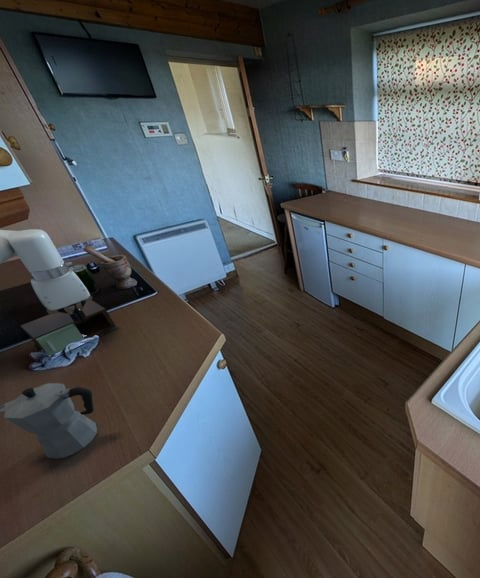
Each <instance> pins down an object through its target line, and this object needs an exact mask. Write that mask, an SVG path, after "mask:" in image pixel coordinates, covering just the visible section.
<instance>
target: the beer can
mask: <svg viewBox="0 0 480 578" xmlns="http://www.w3.org/2000/svg"><path fill="white" fill-rule="evenodd" d="M69 269H71V270H72V271H73V272H74V273H75V274H76V275H77V276H78V278H79V279H80V280H81V281H82V283H83V284H84V286H85V287H86V289H87V290H88V292H89V294H90V295H91V296H92V295H94V294H96V293H98V292H99V291H100V289H99V286H98V284H97V282H96V281H95V279H94V278H93V275H92V274H91V272H90V270H89V269H88V268H87V266H86V265H85V264H76V265H73V266H71V267H69Z"/></svg>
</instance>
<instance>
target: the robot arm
mask: <svg viewBox="0 0 480 578" xmlns="http://www.w3.org/2000/svg"><path fill="white" fill-rule="evenodd" d="M16 256H17V257H18V258H19V259H20V261H21V262H22V263H23V265H24V267H25V268H26V270H27V271H28V273H29V274H30V276H31V277H32V279H30V284H31V286H32V289H33V291H34V293H35V295H36V296H37V298H38V300H39V302H40V303H41V304H42V305H43V307H45V310H46V313H47V315H49V314H55V313H59V312H61V313H67V314H69V315H70V317H71V318H72V320H73V321H74V322H75V321H77V322H78V323H82V321H83V322H85V321H86V320H85V317H86V315H85V314H84V312H83V311H82V310H83V307H84V305H85V303H86V302H88V301H90V300H93V299H94V298H93V295H92V294H91V295H90V294H89V292H88V290H87V289H86V287H85V286H84V284H83V283H82V281H81V280H80V279H79V278H78V276H77V275H76V274H75V273H74V272H73V271H72V270H71V269H69V268H70V267H72V266H74V264H73V262H72V261H67V262H65V261H64V259H63V258H62V256H61V255H60V252H59V251H58V249H57V248H56V246H55V244H54V243H53V241H52V239H51V237H50V235H49V234H48V233H47V232H46V231H45V230H43V229H39V228H31V229H30V228H29V229H23V230H8V229H0V265H2V264H4V263H5V262H7V261H8V260H10V259H12V258H14V257H16ZM73 305H74V307H75V308H74V311H73V310H72V309H70V308H69V307H70V306H73Z"/></svg>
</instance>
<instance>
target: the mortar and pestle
mask: <svg viewBox="0 0 480 578" xmlns="http://www.w3.org/2000/svg"><path fill="white" fill-rule="evenodd" d="M82 250H83V251H84V252H85V253H87V254H89V255H90V256H93V257H95V258H97V259H99V260H100V261H99V263H100V265H101V266H102V268H103V269H104V271H105V273H106V274H107V275H108V276H109V277H110V278H111V279H114V280H116V281H117V282H116V284H115V285H116V289H118V290H126V289H130V288H132V287H135V286H137V284H138V281H137V279H135V278H132V277H131V275H132V267H131V264H130V262H129V261H128V258H127V256H126V255H125V254H120V255H119V254H117V255H111V256H106V255H104V254H102V253H101V252H100V251H99V250H97V249H95V248H94V247H93V246H90V245H86V246H85V247H83V248H82Z"/></svg>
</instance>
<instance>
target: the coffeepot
mask: <svg viewBox="0 0 480 578" xmlns="http://www.w3.org/2000/svg"><path fill="white" fill-rule="evenodd" d="M76 396H80V397H81V400H82V402H83V407H84V409H85V410H83V411H79V410H78V411H77V410H75V405H74V402H73V401H72V398H73V397H76ZM94 411H95V409H94V400H93V392H92V390H90V389H89V388H85V387H81V386H76V387H71V388H70V387H68V388H66V386H65V383H58V382H46V383H44V384H42V385H40V386H36V387H34V388H33V387H29V388H26V389H24V390H22V392H21V394H20V395H18V396H17V397H16V398H15V399H13V400H10V401H8V402H5V403H3V404H2V405H0V413H2V414H4V415H3V418H4V419H5V420H7V421H9V422H10V423H12V424H14V425H15V426H17V427H19V428H21V429H23V430H24V431H26V432H28V433H29V434H35V435H36V437H37V440H38V442H39V444H40V446H41V448H42V450H43V452H44V454H45V455H46V457H47V458H48V459H56V460H57V459H65V458H68V457H70V456H73V455H75V454H76V453H78V452H79V451H82V450H83V449H84V448H86V447H87V446H88V445H89V444H90V443H91V442H92V441H93V440H94V439H95V437H96V435H98V427H97V422H95V421H93V420H92V419H90V418H89V417H87V415H90V414H93V412H94Z"/></svg>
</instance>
